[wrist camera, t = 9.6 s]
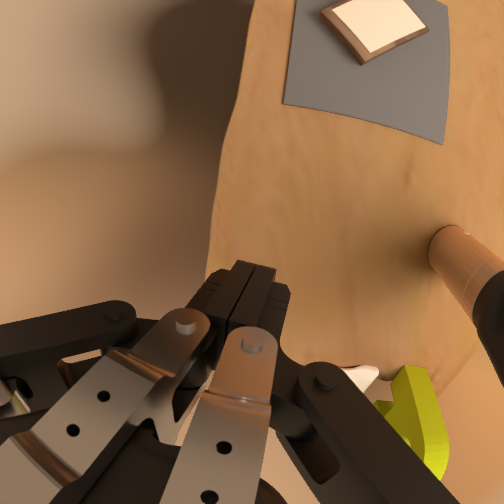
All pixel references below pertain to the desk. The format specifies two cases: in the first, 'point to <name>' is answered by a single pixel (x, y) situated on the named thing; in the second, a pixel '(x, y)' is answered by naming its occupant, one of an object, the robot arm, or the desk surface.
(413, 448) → the decorative object
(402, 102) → the desk mat
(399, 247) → the desk surface
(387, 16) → the walnut picture frame
